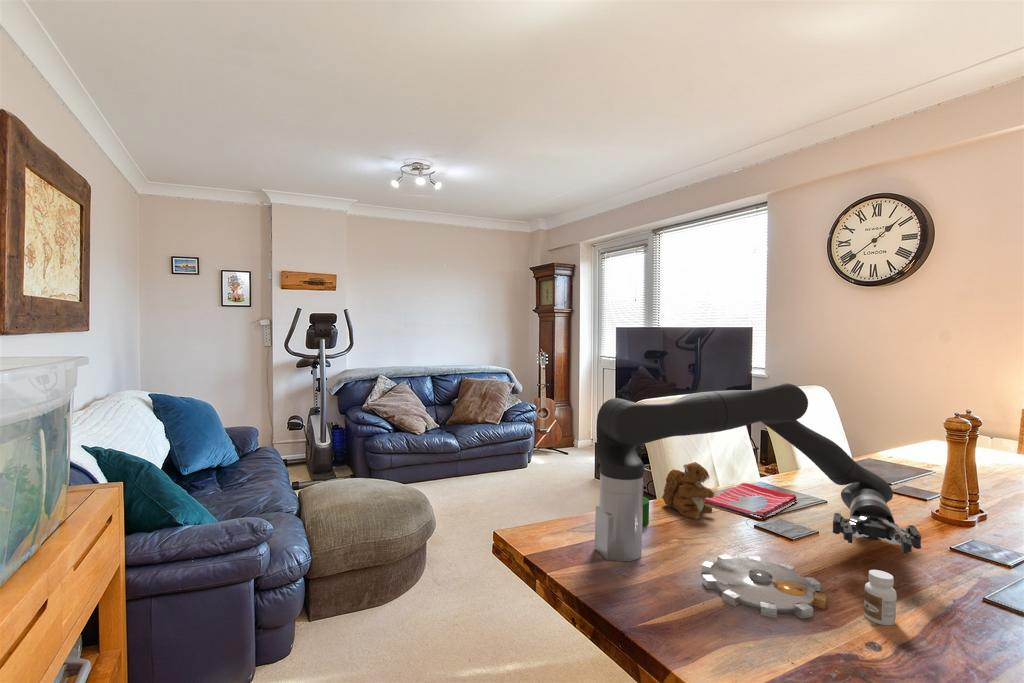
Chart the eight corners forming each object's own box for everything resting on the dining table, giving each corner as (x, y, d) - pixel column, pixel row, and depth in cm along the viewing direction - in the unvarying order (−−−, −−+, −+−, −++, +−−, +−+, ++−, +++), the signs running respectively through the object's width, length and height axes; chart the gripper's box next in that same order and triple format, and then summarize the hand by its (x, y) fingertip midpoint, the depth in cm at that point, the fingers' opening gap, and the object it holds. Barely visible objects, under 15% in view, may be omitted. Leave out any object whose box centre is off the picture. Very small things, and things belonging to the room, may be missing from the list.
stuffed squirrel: (699, 521, 130) (700, 470, 130) (651, 506, 141) (653, 458, 141) (719, 513, 137) (720, 464, 136) (672, 498, 147) (673, 453, 147)
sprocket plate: (755, 626, 84) (756, 611, 84) (679, 567, 105) (679, 555, 105) (854, 609, 90) (854, 595, 90) (763, 556, 111) (763, 545, 110)
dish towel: (799, 504, 146) (799, 494, 146) (764, 523, 131) (764, 513, 131) (740, 489, 159) (740, 480, 159) (701, 505, 144) (701, 496, 144)
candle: (649, 517, 133) (650, 479, 132) (647, 529, 125) (648, 488, 124) (617, 512, 135) (618, 475, 135) (613, 524, 127) (614, 484, 127)
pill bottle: (857, 612, 89) (859, 568, 89) (881, 611, 90) (882, 567, 90) (877, 626, 85) (879, 580, 85) (902, 626, 85) (904, 580, 85)
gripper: (832, 492, 114) (833, 516, 100) (913, 504, 107) (926, 531, 93) (831, 526, 114) (832, 553, 101) (912, 540, 107) (924, 572, 93)
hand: (877, 543), depth 97 cm, fingers open, 8 cm apart
